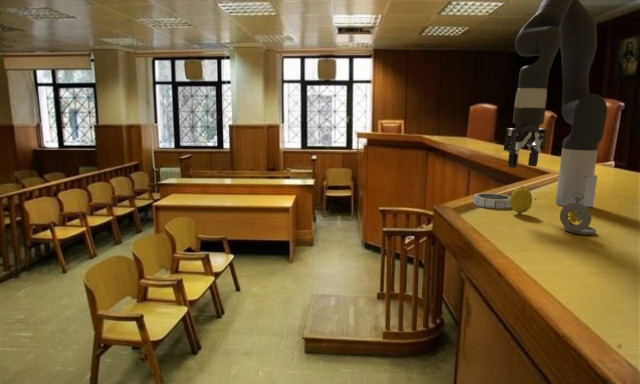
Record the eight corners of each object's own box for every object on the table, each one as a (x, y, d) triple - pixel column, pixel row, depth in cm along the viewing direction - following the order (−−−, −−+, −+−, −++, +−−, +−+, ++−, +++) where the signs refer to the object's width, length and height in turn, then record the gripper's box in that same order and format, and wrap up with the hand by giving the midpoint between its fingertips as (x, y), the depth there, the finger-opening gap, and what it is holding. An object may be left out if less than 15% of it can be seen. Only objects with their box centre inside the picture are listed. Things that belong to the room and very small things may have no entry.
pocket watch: (591, 230, 107) (597, 189, 105) (601, 239, 99) (607, 196, 97) (554, 226, 109) (559, 187, 107) (560, 235, 102) (565, 193, 100)
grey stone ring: (519, 206, 132) (520, 198, 131) (496, 210, 126) (496, 201, 126) (489, 199, 141) (490, 191, 140) (465, 202, 135) (466, 194, 135)
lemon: (529, 217, 118) (532, 188, 116) (507, 215, 120) (510, 186, 119) (531, 213, 122) (534, 185, 121) (510, 211, 125) (513, 183, 124)
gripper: (533, 106, 123) (526, 164, 126) (500, 105, 116) (493, 166, 119) (559, 107, 116) (551, 167, 119) (525, 105, 109) (517, 169, 112)
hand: (522, 166), depth 119 cm, fingers open, 8 cm apart
